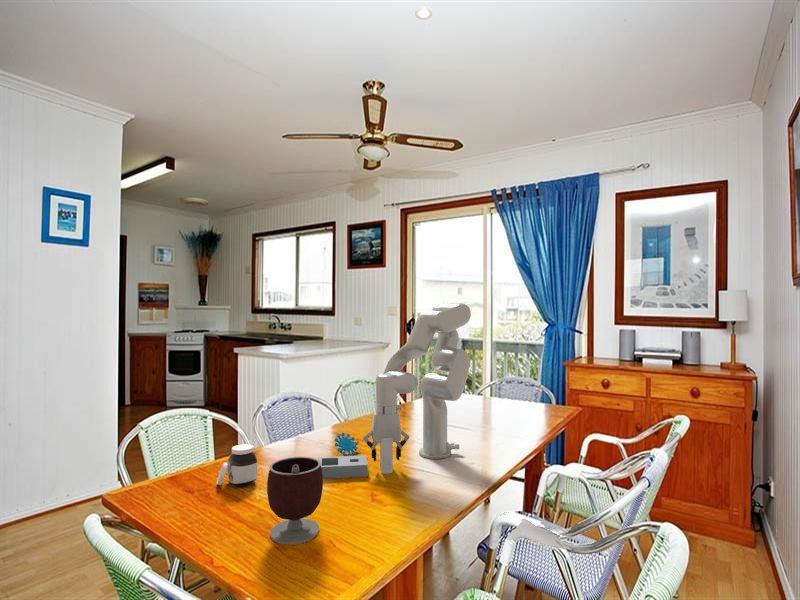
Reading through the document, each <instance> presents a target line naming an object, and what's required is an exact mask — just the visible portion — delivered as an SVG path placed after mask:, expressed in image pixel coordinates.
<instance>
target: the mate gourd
mask: <svg viewBox="0 0 800 600" xmlns="http://www.w3.org/2000/svg"><path fill="white" fill-rule="evenodd" d="M266 480H267V481H266V482H267V483H266V492H267V493H266V494H267V500H268V505H269V508H270V510H271V511H272V512H273V513H274V515H275V516H276V517H277V518H279V519H282V520H284V521H281V522H278V523H277V524H275V525H274V526H272V528H271V529H270V531H269V536H270V537H269V538H270V539H271V541H273V542H274V541H275V543H276V542H277V544H279V543H280V545H284V544H287V545H286V546H288V544H289V546H291V545H290V544H294V545H300V544H299V543H301V544H304V543H306V541H307V542H309V541H308V540H310V541H311V540H314V539H315V538H316V537H317V536H318V535H319V533H320V525H319V523H318V522H317V521H315V520H312V519H309V518H307V517H309V516H311V515H312V514H313V513H314V512H315V511H316V509H317V508H318V506H319V505H320V503H321V500H322V495H323V487H324V484H323V483H324V479H323V475H322V469H321V463H320V461H319V460H318V458H317V459H316V458H314V457H310V456H293V457H291V456H290V457H285V458H281V459H278V460H276V461H274V462H272V463H270V465H269V470H268V475H267V479H266ZM317 534H318V535H317ZM316 535H317V536H316ZM315 536H316V537H315ZM314 537H315V538H314ZM303 542H304V543H303Z"/></svg>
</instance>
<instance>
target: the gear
mask: <svg viewBox="0 0 800 600" xmlns="http://www.w3.org/2000/svg"><path fill="white" fill-rule="evenodd" d="M345 435H346V436H345ZM350 437H351V434H350V433H347V434H346V433H345V432H341V434H338V433H337V435H336V437H335V438H334V439H333V440H334V442H335V443H334V447H335V448H336V447H337V450H336V451H337V452H338V453H341V456H355V454H356V452H357V450H358V449H359V448H358V445H359V444H360V441H359V440H357V441H355V440H356V439H355V437H354V436H352V437H351V438H350ZM347 452H348V453H347ZM346 453H347V454H346Z"/></svg>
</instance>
